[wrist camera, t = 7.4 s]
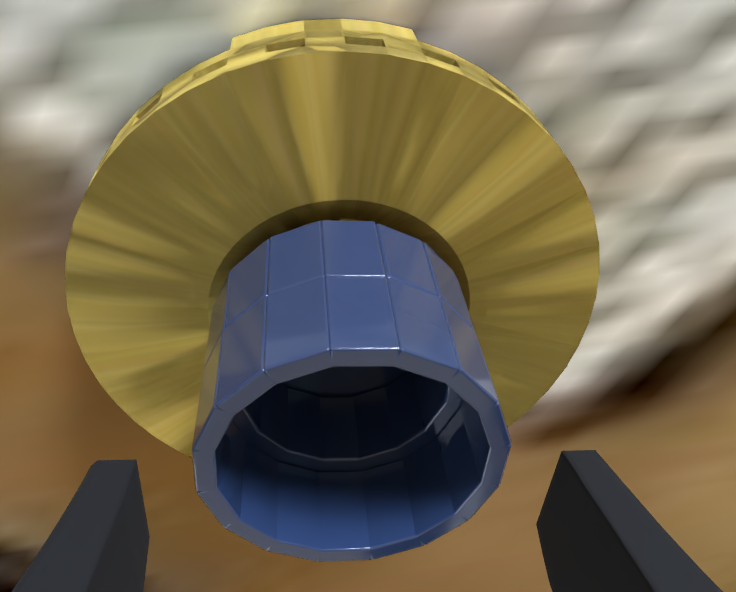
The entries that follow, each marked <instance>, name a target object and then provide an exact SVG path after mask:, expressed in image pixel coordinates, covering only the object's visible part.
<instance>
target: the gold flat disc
mask: <svg viewBox="0 0 736 592" xmlns="http://www.w3.org/2000/svg"><path fill="white" fill-rule="evenodd" d="M322 220H339V221H374V222H375V223H376V224H382V225H384V226H387V227H389V228H392V229H394V230H397V231H399V232H402V233H404V234H407V235H409V236H412V237H414V238H417V239H419V240H421V241H422V242H425V243H426V244H427V245H428V246H429V247H430V248H431V249H432V250H433V251H434V252H435V253H436V254H437V255H438V256H439V257H440V258H441V259H442V260H443V261H444V262H445V263H446V264H447V265H448V266H449V267H450V268H451V269H452V270H453V271H454V273H455V276H456V277H457V278H458V281H459V284H460V287H461V290H462V293H463V296H464V299H465V302H466V305H467V308H468V311H469V314H470V317H471V320H472V323H473V326H474V329H475V332H476V335H477V338H478V341H479V344H480V347H481V350H482V353H483V356H484V358H485V361H486V364H487V367H488V370H489V373H490V376H491V379H492V382H493V385H494V388H495V391H496V394H497V397H498V400H499V403H500V406H501V410H502V413H503V416H504V419H505V423H506V426H507V427H509V426H510V425H511V424H513V423H514V422H515V421H516V420H517V419H518V418H520V417H521V416H522V415H523V414H524V413H526V412H527V411H528V410H529V409H530V408H531V407H532V406H533V405H534V404H535V403H536V402H537V401H538V400H539V399H540V398H541V397H542V396H543V395H544V394H545V393H546V392H547V391H548V390H549V389H550V387H551V386H552V385H553V384H554V382H555V381H556V380H557V378H558V377H559V376H560V374H561V373H562V372H563V371H564V369H565V368H566V366H567V364H568V363H569V361H570V359H571V358H572V356H573V354H574V353H575V351H576V349H577V348H578V346H579V344H580V341H581V339H582V337H583V335H584V332H585V330H586V328H587V325H588V323H589V320H590V316H591V313H592V309H593V306H594V302H595V299H596V293H597V286H598V278H599V241H598V235H597V229H596V224H595V218H594V214H593V211H592V209H591V206H590V203H589V200H588V197H587V194H586V191H585V189H584V187H583V185H582V183H581V181H580V179H579V177H578V176H577V174H576V172H575V170H574V168H573V166H572V164H571V162H570V161H569V160H568V158H567V157H566V156H565V154H564V153H563V152H562V150H561V149H560V148H559V146H558V145H557V143H556V142H555V141H554V139H553V138H552V137H551V135H550V134H549V133H548V131H547V130H546V129H545V127H544V126H543V125H542V123H541V122H540V121H539V119H538V118H537V117H536V115H535V114H534V113H533V112H532V110H531V109H530V108H529V107H528V106H527V105H526V104H525V103H524V102H522V101H521V100H520V99H519V98H518V97H517V96H516V95H515V94H514V93H513V92H512V91H511V90H510V89H509V88H508V87H506V86H505V85H504V84H502V83H501V82H499V81H498V80H497V79H495V78H494V77H493V76H491V75H490V74H488V73H487V72H486V71H484V70H483V69H481V68H479V67H478V66H476V65H474V64H472V63H470V62H468V61H466V60H464V59H462V58H460V57H459V56H457V55H455V54H453V53H451V52H448V51H445V50H443V49H440V48H437V47H434V46H432V45H429V44H426V43H423V42H421V41H418V40H417V39H416V37H415V35H414V33H413V31H412V29H408V28H403V27H399V26H394V25H390V24H385V23H381V22H375V21H363V20H352V19H320V20H302V21H296V22H291V23H285V24H280V25H274V26H268V27H265V28H262V29H259V30H255V31H252V32H249V33H246V34H243V35H240V36H237V37H233V38H232V42H231V47H230V49H229V50H227V51H225V52H223V53H221V54H219V55H217V56H215V57H212V58H210V59H208V60H206V61H204V62H202V63H200V64H198V65H196V66H194V67H193V68H191V69H190V70H188V71H187V72H185V73H183V74H182V75H180V76H179V77H177V78H176V79H174V80H173V81H171V82H170V83H168V84H167V85H165V86H164V87H163V88H162V89H161V90H160V91H158V92H157V93H156V94H155V95H154V96H153V97H152V98H150V99H149V100H148V101H147V102H146V103H145V104H144V105H142V106H141V107H140V108H139V109H138V110H137V112H136V113H135V114H134V115H133V116H132V118H131V119H130V120H129V121H128V122H127V123H126V125H125V126H124V127H123V128H122V129H121V130H120V132H119V133H118V134H117V136H116V138H115V139H114V141H113V142H112V144H111V146H110V147H109V149H108V150H107V152H106V154H105V155H104V157H103V159H102V160H101V162H100V164H99V166H98V168H97V170H96V172H95V174H94V176H93V178H92V180H91V182H90V184H89V186H88V188H87V190H86V193H85V195H84V198H83V200H82V202H81V205H80V207H79V209H78V212H77V214H76V217H75V219H74V222H73V226H72V230H71V235H70V239H69V243H68V247H67V254H66V268H65V288H66V298H67V308H68V312H69V316H70V320H71V324H72V327H73V331H74V335H75V337H76V340H77V342H78V344H79V347H80V349H81V351H82V354H83V356H84V358H85V360H86V362H87V364H88V365H89V367H90V368H91V370H92V372H93V373H94V375H95V377H96V378H97V380H98V382H99V383H100V384H101V386H102V387H103V388H104V389H105V390H106V392H107V393H108V394H109V395H110V397H111V398H112V399H113V400H114V401H115V403H116V404H117V405H118V406H119V407H120V408H121V409H122V410H123V411H124V412H126V413H127V414H128V415H129V416H130V417H131V418H132V419H133V420H134V421H135V422H136V423H137V424H139V425H140V426H141V427H143V428H144V429H145V430H147V431H148V432H149V433H151V434H152V435H153V436H155V437H156V438H157V439H159V440H161V441H162V442H164V443H166V444H167V445H169V446H171V447H172V448H174V449H176V450H177V451H179V452H181V453H183V454H185V455H187V456H189V457H192V444H193V437H194V430H195V423H196V416H197V410H198V403H199V396H200V389H201V382H202V375H203V370H204V363H205V356H206V349H207V342H208V336H209V329H210V322H211V315H212V308H213V306H214V304H215V301H216V299H217V297H218V295H219V293H220V291H221V288H222V286H223V284H224V282H225V280H226V278H227V276H228V273H229V272H230V271H231V270H232V268H233V267H235V266H236V265H237V264H238V263H239V262H241V261H242V260H243V259H244V258H245V257H247V256H248V255H249V254H250V253H251V252H253V251H254V250H255V249H256V248H257V247H259V246H260V245H261V244H262V243H263V242H265V241H266V240H267V239H270V237H272V236H275V235H278V234H281V233H284V232H287V231H290V230H293V229H296V228H299V227H302V226H305V225H308V224H311V223H314V222H317V221H320V222H321V221H322Z"/></svg>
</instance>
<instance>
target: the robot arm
mask: <svg viewBox="0 0 736 592" xmlns="http://www.w3.org/2000/svg"><path fill="white" fill-rule="evenodd" d="M537 529H538V534H539V539H540V543H541V548H542V553H543V557H544V562H545V566H546V570H547V574H548V578H549V582H550V585H551V588H552V591H553V592H723V591H722V590H721V589H720V588H719V587H718V586H717V585H716V584H715V583H714V582H713V581H712V580H711V579H710V578H709V577H708V576H707V575H706V574H705V573H704V572H703V571H702V570H701V569H700V568H699V567H698V566H697V565H696V564H695V562H694V561H693V560H692V559H691V558H690V557H689V556H688V555H687V554H686V553H685V552H684V551H683V549H682V548H681V547H680V546H679V545H678V544H677V543H676V542H675V541H674V540H673V539H672V537H671V536H670V535H669V534H668V533H667V532H666V531H665V530H664V529H663V528H662V526H661V525H660V524H659V523H658V522H657V521H656V520H655V519H654V517H653V516H652V515H651V514H650V513H649V512H648V511H647V509H646V508H645V507H644V506H643V505H642V504H641V503H640V501H639V500H638V499H637V498H636V497H635V496H634V494H633V493H632V492H631V491H630V490H629V489H628V488H627V486H626V485H625V484H624V483H623V482H622V481H621V479H620V478H619V477H618V476H617V475H616V474H615V472H614V471H613V470H612V469H611V468H610V467H609V465H608V464H607V463H606V462H605V461H604V460H603V459H602V457H601V456H600V455H599V454H598V453H597V452H596V451H595V450H584V451H562V452H561V455H560V458H559V460H558V463H557V466H556V469H555V472H554V475H553V478H552V481H551V483H550V486H549V489H548V492H547V495H546V498H545V501H544V504H543V506H542V509H541V512H540V515H539V518H538V521H537ZM148 546H149V531H148V525H147V519H146V513H145V508H144V502H143V496H142V490H141V484H140V478H139V472H138V467H137V461H136V460H98V461H96V462H95V463H94V464H92V465H91V467H90V469H89V471H88V472H87V474H86V476H85V478H84V480H83V482H82V483H81V485H80V487H79V488H78V490H77V492H76V494H75V495H74V497H73V499H72V500H71V502H70V504H69V505H68V507H67V509H66V510H65V512H64V514H63V515H62V517H61V518H60V520H59V522H58V523H57V525H56V526H55V528H54V530H53V531H52V533H51V534H50V536H49V537H48V539H47V541H46V542H45V544H44V545H43V546H42V548H41V549H40V551H39V552H38V554H37V555H36V557H35V558H34V560H33V561H32V563H31V564H30V566H29V567H28V569H27V570H26V572H25V573H24V575H23V576H22V577H21V579H20V580H19V582H18V583H17V585H16V586H15V588H14V589H13V590H12V592H143V586H144V579H145V571H146V563H147V554H148Z"/></svg>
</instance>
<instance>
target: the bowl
mask: <svg viewBox="0 0 736 592" xmlns="http://www.w3.org/2000/svg"><path fill="white" fill-rule="evenodd" d="M510 448H511V439H510V436H509V433H508V429H507V426H506V423H505V419H504V416H503V413H502V410H501V406H500V403H499V400H498V397H497V394H496V391H495V388H494V385H493V382H492V379H491V376H490V373H489V370H488V367H487V364H486V361H485V358H484V356H483V353H482V350H481V347H480V344H479V341H478V338H477V335H476V332H475V329H474V326H473V323H472V320H471V317H470V314H469V311H468V308H467V305H466V302H465V299H464V296H463V293H462V290H461V287H460V284H459V281H458V278H457V277H456V276H455V273H454V271H453V270H452V269H451V268H450V267H449V266H448V265H447V264H446V263H445V262H444V261H443V260H442V259H441V258H440V257H439V256H438V255H437V254H436V253H435V252H434V251H433V250H432V249H431V248H430V247H429V246H428V245H427V244H426V243H425V242H422V241H421V240H419V239H417V238H414V237H412V236H409V235H407V234H404V233H402V232H399V231H397V230H394V229H392V228H389V227H387V226H384V225H382V224H376V223H375V222H374V221H339V220H322V221H321V222H320V221H317V222H314V223H311V224H308V225H305V226H302V227H299V228H296V229H293V230H290V231H287V232H284V233H281V234H278V235H275V236H272V237H270V239H267V240H266V241H265V242H263V243H262V244H261V245H260V246H259V247H257V248H256V249H255V250H254V251H253V252H251V253H250V254H249V255H248V256H247V257H245V258H244V259H243V260H242V261H241V262H239V263H238V264H237V265H236V266H235V267H233V268H232V270H231V271H230V272H229V273H228V276H227V278H226V280H225V282H224V284H223V286H222V288H221V291H220V293H219V295H218V297H217V299H216V301H215V304H214V306H213V308H212V315H211V322H210V329H209V336H208V342H207V349H206V356H205V363H204V370H203V375H202V382H201V389H200V396H199V403H198V410H197V416H196V423H195V430H194V437H193V444H192V459H193V469H194V479H195V489H196V491H197V494H198V495H199V496H200V498H201V499H202V500H203V502H204V503H205V504H206V506H207V507H208V508H209V509H210V511H211V512H212V513H213V515H214V516H215V517H216V519H217V520H218V521H219V522H220V524H221V525H222V526H224V528H226V529H227V530H229V531H231V532H233V533H235V534H236V535H238V536H240V537H242V538H244V539H245V540H247V541H249V542H251V543H253V544H254V545H256V546H258V547H260V548H262V549H263V550H267V551H269V552H274V553H279V554H283V555H288V556H293V557H298V558H302V559H307V560H312V561H319V562H323V561H352V560H371V559H377V558H381V557H384V556H388V555H392V554H395V553H399V552H403V551H406V550H410V549H414V548H417V547H421V546H423V545H426V544H428V543H430V542H432V541H433V540H435V539H437V538H439V537H440V536H442V535H444V534H446V533H447V532H449V531H451V530H453V529H454V528H456V527H458V526H459V525H461V524H463V523H465V522H466V521H468V519H470V518H471V517H472V516H473V515H474V514H475V513H476V512H477V511H478V509H479V508H480V507H481V506H482V505H483V504H484V503H485V502H486V500H487V499H488V498H489V497H490V496H491V495H492V494H493V492H494V491H495V490H496V489H497V488H498V487H499V484H500V483H501V480H502V476H503V472H504V469H505V465H506V462H507V458H508V455H509V451H510Z"/></svg>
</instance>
